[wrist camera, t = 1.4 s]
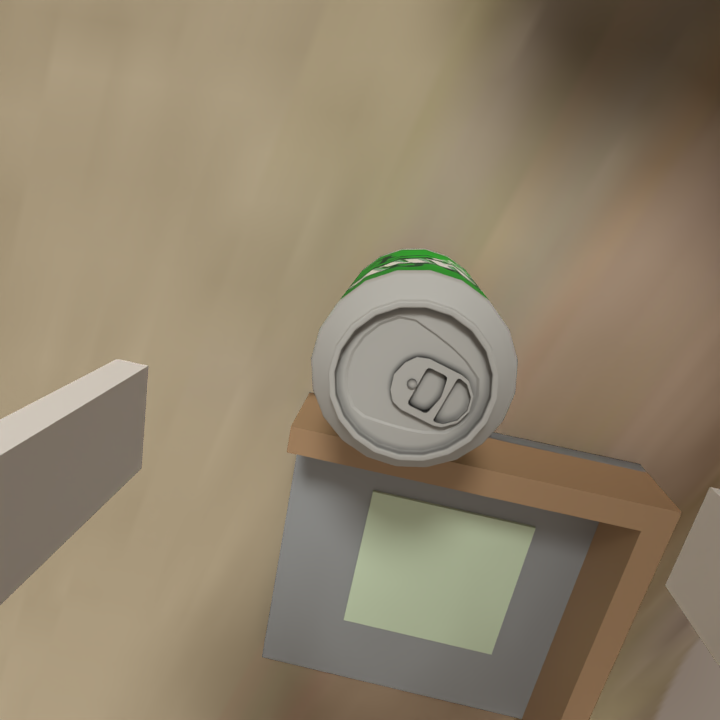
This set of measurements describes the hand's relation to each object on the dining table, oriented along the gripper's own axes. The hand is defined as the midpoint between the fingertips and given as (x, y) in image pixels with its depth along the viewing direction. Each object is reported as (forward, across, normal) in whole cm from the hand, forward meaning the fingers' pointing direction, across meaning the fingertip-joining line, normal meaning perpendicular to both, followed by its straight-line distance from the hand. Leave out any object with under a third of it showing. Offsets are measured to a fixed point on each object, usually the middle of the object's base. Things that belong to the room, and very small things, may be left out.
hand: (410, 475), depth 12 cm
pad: (+18, +5, -16) cm, 24 cm away
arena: (+18, +5, -16) cm, 24 cm away
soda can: (+18, 0, 0) cm, 18 cm away
